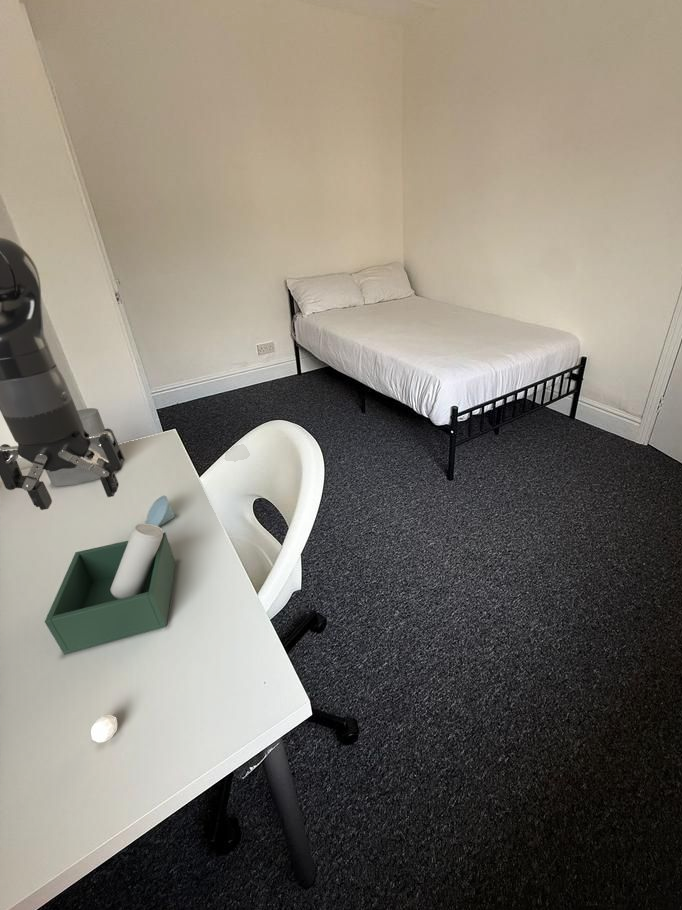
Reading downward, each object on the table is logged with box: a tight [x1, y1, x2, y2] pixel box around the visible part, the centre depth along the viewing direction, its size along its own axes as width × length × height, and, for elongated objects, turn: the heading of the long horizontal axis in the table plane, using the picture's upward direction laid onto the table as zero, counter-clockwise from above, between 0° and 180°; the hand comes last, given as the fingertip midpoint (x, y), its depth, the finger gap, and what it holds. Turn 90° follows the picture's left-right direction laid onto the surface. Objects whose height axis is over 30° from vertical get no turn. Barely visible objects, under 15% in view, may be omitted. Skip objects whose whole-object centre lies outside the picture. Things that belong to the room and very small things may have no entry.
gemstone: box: [146, 495, 176, 527], centre depth 91 cm, size 8×8×5 cm
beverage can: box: [111, 523, 164, 599], centre depth 72 cm, size 5×5×12 cm
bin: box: [44, 532, 177, 656], centre depth 71 cm, size 15×15×8 cm
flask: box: [45, 407, 118, 487], centre depth 103 cm, size 15×6×20 cm, turn 114°
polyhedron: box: [90, 714, 118, 744], centre depth 54 cm, size 3×3×3 cm
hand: (80, 499), depth 62 cm, fingers open, 8 cm apart
